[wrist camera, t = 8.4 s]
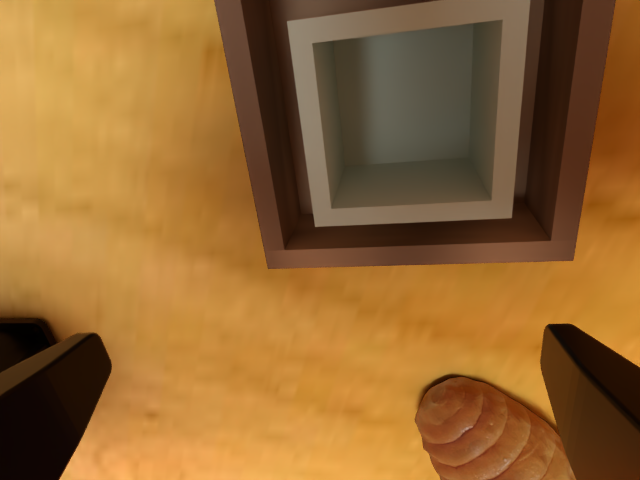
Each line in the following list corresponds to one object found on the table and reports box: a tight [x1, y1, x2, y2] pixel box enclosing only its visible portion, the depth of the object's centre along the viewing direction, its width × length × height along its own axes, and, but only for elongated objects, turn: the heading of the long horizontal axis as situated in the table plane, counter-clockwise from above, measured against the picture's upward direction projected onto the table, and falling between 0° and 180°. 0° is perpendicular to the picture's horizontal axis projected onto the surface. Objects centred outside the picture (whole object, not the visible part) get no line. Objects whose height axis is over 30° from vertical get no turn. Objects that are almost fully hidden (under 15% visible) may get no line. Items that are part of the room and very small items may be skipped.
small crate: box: [287, 0, 530, 227], centre depth 14 cm, size 6×6×5 cm
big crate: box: [214, 0, 616, 269], centre depth 15 cm, size 11×11×4 cm
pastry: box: [415, 377, 576, 480], centre depth 23 cm, size 9×7×4 cm
